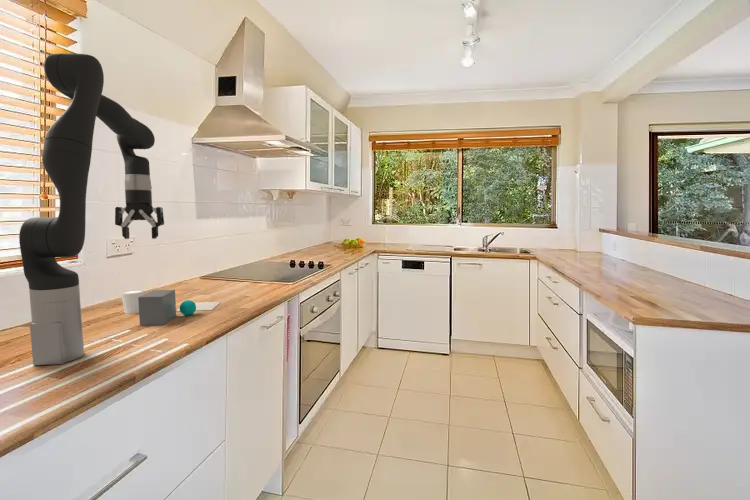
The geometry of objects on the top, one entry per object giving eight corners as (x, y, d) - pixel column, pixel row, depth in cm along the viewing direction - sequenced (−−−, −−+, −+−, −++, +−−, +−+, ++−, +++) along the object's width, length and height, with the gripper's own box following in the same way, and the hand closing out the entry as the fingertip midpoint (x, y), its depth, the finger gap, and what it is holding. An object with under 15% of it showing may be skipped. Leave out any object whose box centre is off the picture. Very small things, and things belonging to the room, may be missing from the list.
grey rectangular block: (163, 325, 125) (162, 296, 125) (139, 325, 125) (138, 297, 124) (176, 315, 136) (175, 289, 135) (154, 316, 135) (153, 290, 134)
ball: (193, 316, 135) (193, 301, 134) (177, 317, 134) (177, 302, 134) (198, 313, 140) (197, 298, 139) (182, 313, 139) (182, 298, 139)
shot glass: (135, 314, 138) (133, 294, 137) (117, 313, 139) (116, 293, 138) (150, 309, 144) (149, 290, 144) (133, 308, 146) (132, 289, 145)
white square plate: (211, 310, 144) (211, 309, 144) (175, 311, 142) (175, 310, 142) (220, 302, 156) (220, 301, 156) (187, 303, 154) (187, 302, 154)
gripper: (109, 188, 130) (111, 239, 132) (156, 188, 132) (159, 239, 134) (120, 189, 138) (123, 238, 139) (165, 190, 140) (167, 237, 141)
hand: (140, 238), depth 136 cm, fingers open, 8 cm apart
